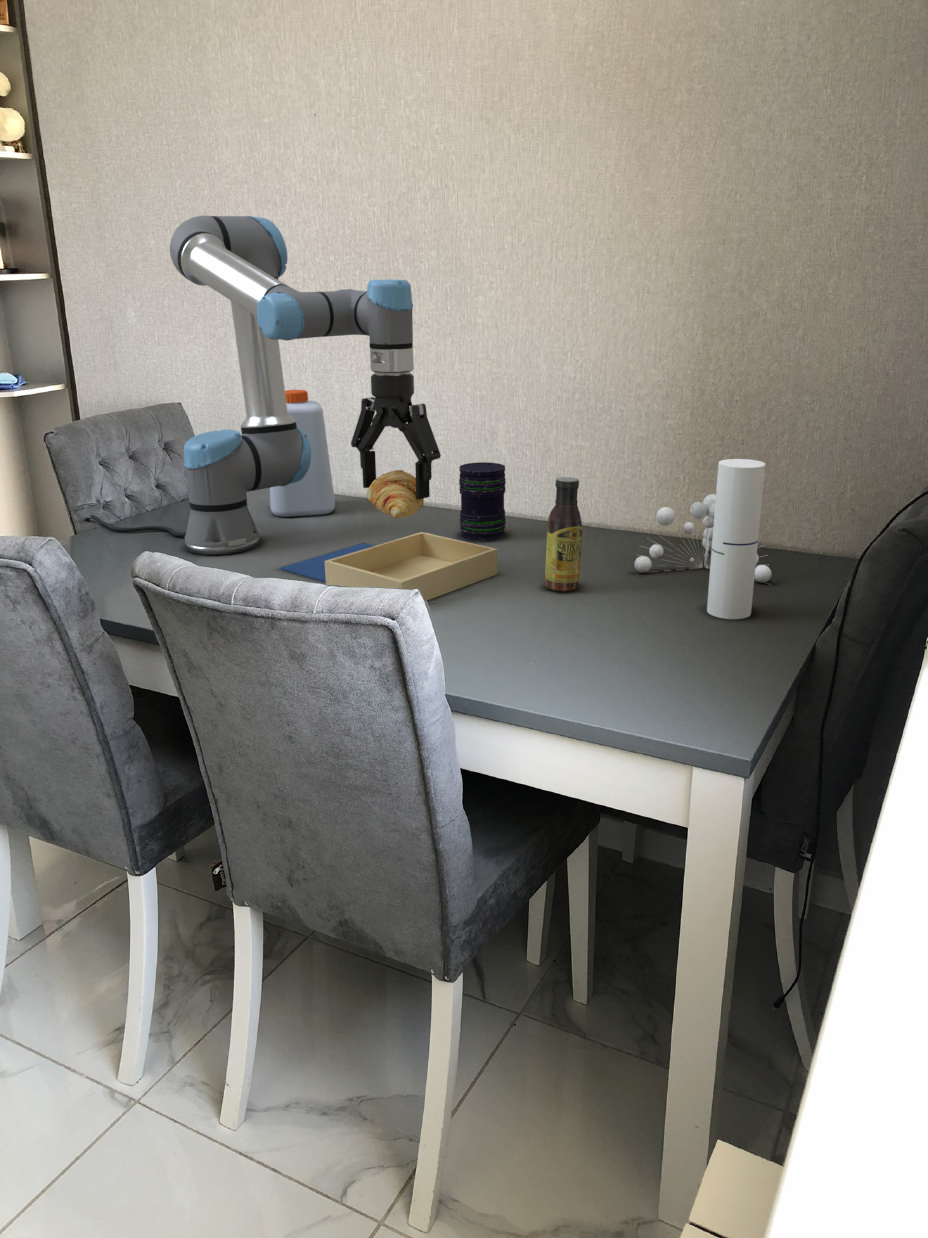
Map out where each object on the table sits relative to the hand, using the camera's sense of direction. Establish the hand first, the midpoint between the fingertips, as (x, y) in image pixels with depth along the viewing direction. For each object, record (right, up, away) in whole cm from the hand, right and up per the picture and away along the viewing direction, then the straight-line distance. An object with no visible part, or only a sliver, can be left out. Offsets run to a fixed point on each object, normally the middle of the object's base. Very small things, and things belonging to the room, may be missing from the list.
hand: (395, 492), depth 176 cm
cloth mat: (-11, -12, +14) cm, 21 cm away
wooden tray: (+3, -16, +3) cm, 17 cm away
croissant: (0, -3, +1) cm, 3 cm away
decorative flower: (+55, -14, +8) cm, 57 cm away
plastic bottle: (-26, +3, +56) cm, 62 cm away
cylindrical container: (+57, -22, -15) cm, 63 cm away
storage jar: (+16, -5, +32) cm, 36 cm away
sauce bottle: (+30, -18, -2) cm, 35 cm away
